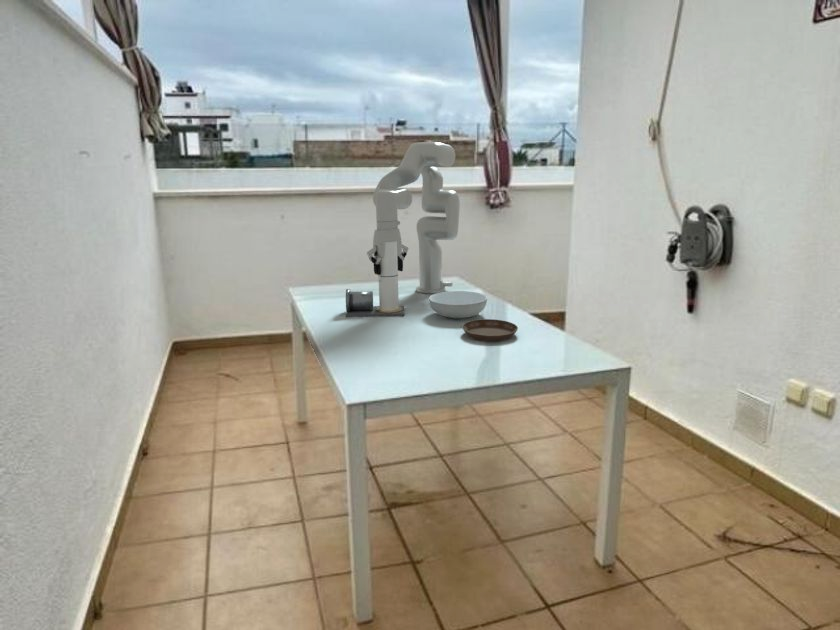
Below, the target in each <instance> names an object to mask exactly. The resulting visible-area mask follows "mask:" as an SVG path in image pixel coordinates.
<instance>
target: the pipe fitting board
mask: <svg viewBox="0 0 840 630" xmlns="http://www.w3.org/2000/svg"><path fill="white" fill-rule="evenodd" d="M345 289H346V290H345V309H346V313H345V317H346V318H372V317H373V318H379V317H382V318H384V317H385V318H386V317H387V318H388V317H405V306H404V305H399V309H397V310H393V311H383V310H380V305H374V291H372V290H371V291H370V290H369V291H352V290H351V289H350V288H345Z"/></svg>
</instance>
